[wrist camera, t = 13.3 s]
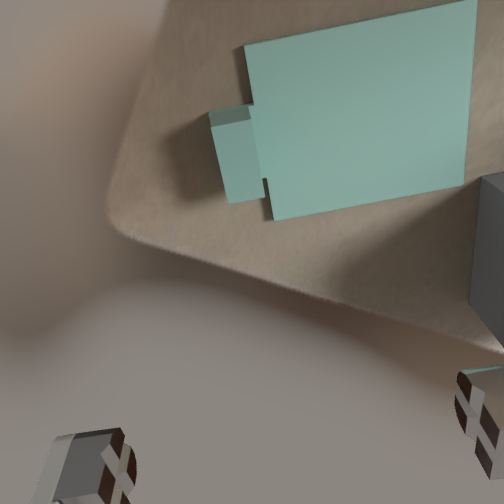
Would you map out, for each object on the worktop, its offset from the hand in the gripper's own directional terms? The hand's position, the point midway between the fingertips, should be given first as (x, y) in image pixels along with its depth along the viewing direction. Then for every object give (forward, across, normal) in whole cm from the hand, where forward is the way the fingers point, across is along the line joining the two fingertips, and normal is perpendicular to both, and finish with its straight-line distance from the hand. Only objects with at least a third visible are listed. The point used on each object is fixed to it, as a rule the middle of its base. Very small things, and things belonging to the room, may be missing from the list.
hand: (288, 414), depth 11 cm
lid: (+23, -6, +1) cm, 24 cm away
